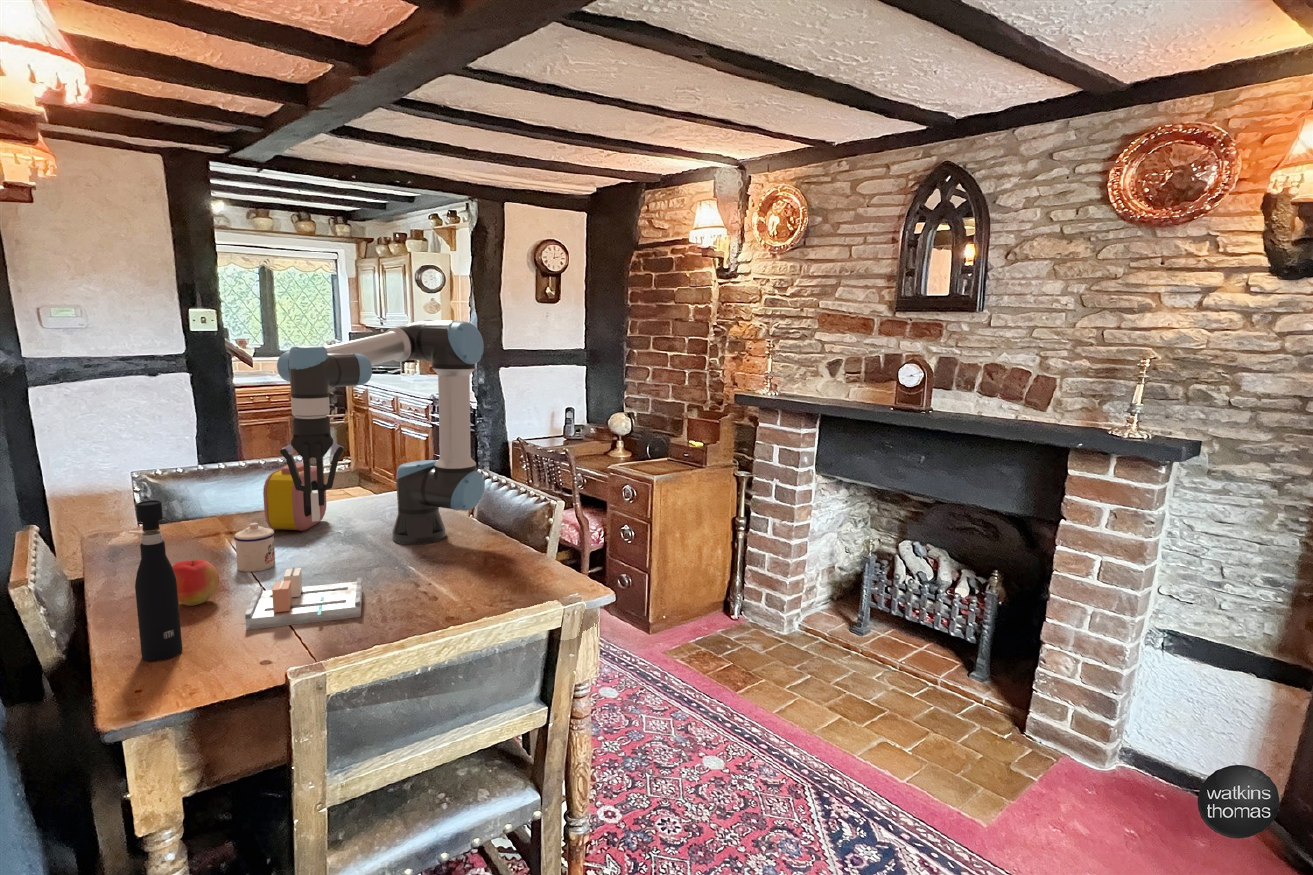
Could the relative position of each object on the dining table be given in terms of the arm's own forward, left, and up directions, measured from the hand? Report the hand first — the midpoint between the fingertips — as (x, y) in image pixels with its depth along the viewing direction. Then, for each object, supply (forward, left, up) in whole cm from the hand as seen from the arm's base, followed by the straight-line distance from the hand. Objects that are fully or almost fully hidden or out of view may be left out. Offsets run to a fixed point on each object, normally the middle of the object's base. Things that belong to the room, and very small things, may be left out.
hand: (316, 519), depth 158 cm
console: (+2, +3, -20) cm, 20 cm away
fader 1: (+7, +7, -17) cm, 20 cm away
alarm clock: (+11, -67, -20) cm, 70 cm away
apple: (+26, -8, -20) cm, 34 cm away
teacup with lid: (+17, -32, -20) cm, 41 cm away
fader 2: (+5, -1, -17) cm, 18 cm away
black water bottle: (+26, +18, -20) cm, 38 cm away
